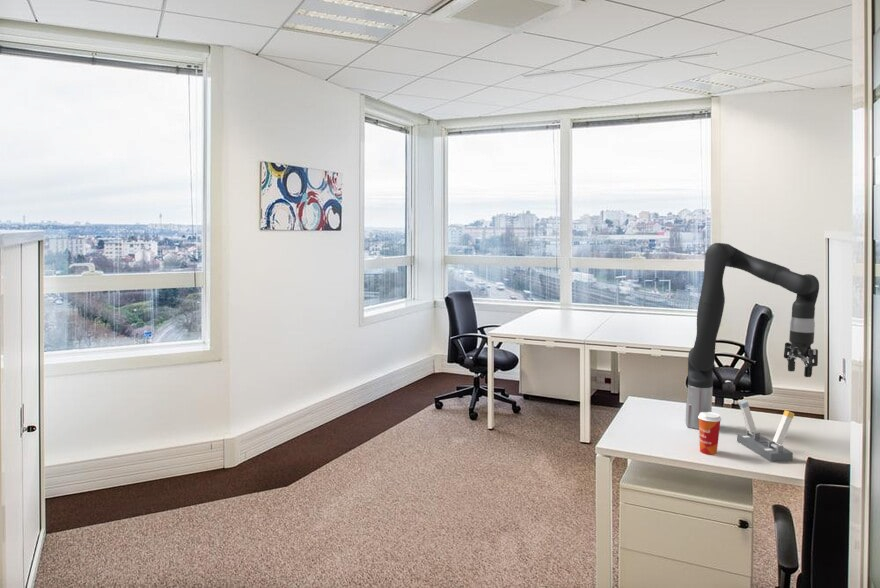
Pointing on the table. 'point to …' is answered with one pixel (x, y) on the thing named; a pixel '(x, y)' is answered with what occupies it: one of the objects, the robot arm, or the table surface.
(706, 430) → the paper cup
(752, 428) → the toggle
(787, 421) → the toggle
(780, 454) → the toggle switch base
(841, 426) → the table surface
